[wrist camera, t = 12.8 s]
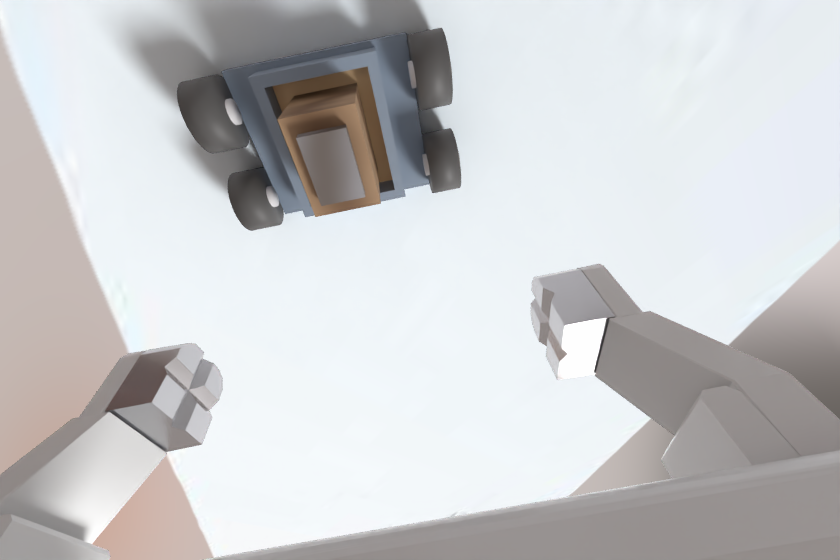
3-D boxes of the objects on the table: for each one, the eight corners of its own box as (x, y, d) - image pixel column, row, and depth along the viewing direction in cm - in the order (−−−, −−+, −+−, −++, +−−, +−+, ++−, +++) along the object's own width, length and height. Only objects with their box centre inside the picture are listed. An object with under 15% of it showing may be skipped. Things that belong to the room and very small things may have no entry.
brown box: (356, 82, 28) (354, 106, 22) (377, 168, 32) (381, 208, 26) (294, 95, 28) (274, 122, 22) (323, 180, 32) (314, 222, 26)
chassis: (439, 24, 27) (452, 29, 23) (454, 174, 35) (466, 196, 31) (190, 76, 27) (162, 89, 23) (259, 214, 35) (246, 241, 31)
